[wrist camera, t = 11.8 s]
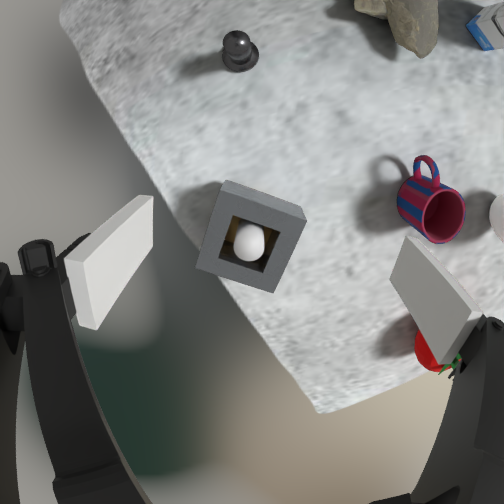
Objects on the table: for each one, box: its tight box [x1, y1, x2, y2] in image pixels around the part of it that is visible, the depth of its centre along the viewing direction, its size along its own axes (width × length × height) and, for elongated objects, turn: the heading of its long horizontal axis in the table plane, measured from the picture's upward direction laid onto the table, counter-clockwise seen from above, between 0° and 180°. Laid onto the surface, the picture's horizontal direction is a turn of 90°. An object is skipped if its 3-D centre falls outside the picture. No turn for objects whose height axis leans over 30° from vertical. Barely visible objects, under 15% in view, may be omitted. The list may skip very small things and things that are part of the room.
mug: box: [397, 155, 465, 244], centre depth 30 cm, size 7×10×7 cm
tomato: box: [414, 329, 462, 375], centre depth 38 cm, size 10×10×10 cm
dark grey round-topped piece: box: [222, 30, 259, 72], centre depth 24 cm, size 4×4×6 cm
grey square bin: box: [195, 180, 307, 293], centre depth 32 cm, size 9×9×5 cm
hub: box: [225, 215, 273, 261], centre depth 32 cm, size 7×7×8 cm
